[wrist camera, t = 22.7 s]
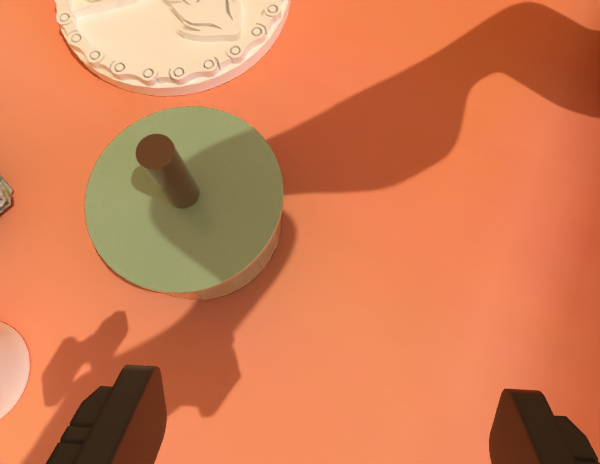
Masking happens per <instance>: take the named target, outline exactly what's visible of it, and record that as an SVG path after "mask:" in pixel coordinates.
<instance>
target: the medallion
mask: <svg viewBox="0 0 600 464" xmlns="http://www.w3.org/2000/svg"><path fill="white" fill-rule="evenodd" d="M54 1H55V2H56V11H57V16H56V20H57V22H58V23H59V25H60V28H61V32H62V33H63V35H64V37H65V39H66V41H67V42H68V44H69V46H70V47H71V49H72V50H73V51H74V53H75V54H76V56H77V57H78V58H79V59H80V60H81V61H82V62H83V64H84V65H85V66H86V67H87V68H88V69H89V70H90V71H92V72H93V73H94V74H96V75H97V76H98V77H100V78H101V79H102V80H104V81H106V82H108V83H110V84H112V85H114V86H116V87H118V88H121V89H124V90H128V91H131V92H135V93H138V94H145V95H153V96H181V95H186V94H192V93H197V92H202V91H205V90H208V89H211V88H214V87H217V86H219V85H222V84H224V83H226V82H228V81H230V80H232V79H234V78H235V77H237V76H239V75H241V74H242V73H244V72H245V71H246V70H248V69H249V68H250V67H252V66H253V65H254V64H256V63H257V62H258V61H259V60H260V59H261V58H262V57H263V56H264V55H265V54H266V53H267V52H268V50H269V49H270V48H271V47H272V45H273V44H274V42H275V41H276V39H277V38H278V36H279V35H280V33H281V31H282V29H283V26H284V24H285V22H286V19H287V17H288V12H289V7H290V2H291V0H54Z"/></svg>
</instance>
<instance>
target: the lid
mask: <svg viewBox="0 0 600 464" xmlns="http://www.w3.org/2000/svg"><path fill="white" fill-rule="evenodd" d="M283 199H284V189H283V179H282V174H281V170H280V166H279V164H278V161H277V159H276V156H275V154H274V153H273V151H272V149H271V147H270V146H269V144H268V143H267V142H266V140H265V139H264V138H263V137H262V136H261V135H260V134H259V133H258V132H257V131H256V130H255V129H254V128H253V127H252V126H250V125H249V124H248V123H246V122H245V121H243V120H241V119H240V118H238V117H236V116H234V115H231V114H229V113H226V112H224V111H220V110H217V109H213V108H206V107H193V106H187V107H177V108H171V109H167V110H163V111H160V112H157V113H154V114H151V115H149V116H147V117H144V118H142V119H140V120H138V121H137V122H135V123H134V124H132V125H130V126H129V127H127V128H126V129H125V130H124V131H122V132H121V133H120V134H119V135H118V136H117V137H116V138H115V139H114V140H113V141H112V142H111V143H110V144H109V145H108V146H107V147H106V149H105V150H104V151H103V153H102V154H101V156H100V157H99V159H98V160H97V162H96V164H95V166H94V168H93V170H92V173H91V175H90V178H89V181H88V185H87V190H86V195H85V218H86V225H87V229H88V232H89V235H90V238H91V240H92V243H93V245H94V247H95V248H96V250H97V252H98V253H99V255H100V256H101V258H102V259H103V260H104V261H105V262H106V264H107V265H108V266H109V267H110V268H112V269H113V270H114V271H115V272H116V273H117V274H119V275H120V276H122V277H123V278H125V279H126V280H128V281H129V282H131V283H134V284H136V285H138V286H140V287H142V288H145V289H149V290H152V291H156V292H162V293H171V294H184V293H194V292H199V291H203V290H207V289H210V288H213V287H216V286H219V285H221V284H223V283H225V282H227V281H229V280H231V279H233V278H234V277H236V276H237V275H239V274H240V273H242V272H243V271H245V270H246V269H247V268H248V267H249V266H250V265H251V264H253V263H254V262H255V261H256V260H257V258H258V257H259V256H260V255H261V254H262V253H263V252H264V250H265V249H266V247H267V246H268V244H269V243H270V241H271V239H272V237H273V235H274V233H275V231H276V229H277V227H278V224H279V221H280V218H281V213H282V208H283Z"/></svg>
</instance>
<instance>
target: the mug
mask: <svg viewBox="0 0 600 464" xmlns="http://www.w3.org/2000/svg"><path fill="white" fill-rule="evenodd" d="M29 372H30V357H29V352H28V348H27V346H26V343H25V342H24V340H23V338H22V337H21V335H20V334H19V333H18V332H17V331H16V330H15V329H14V328H12V327H11V326H9V325H7V324H5V323H3V322H0V418H2V417H3V416H4V415H6V414H7V413H8V412H9V411H10V410H11V409H12V408H13V407H14V405H15V404H16V403H17V401H18V400H19V398H20V397H21V395H22V393H23V391H24V389H25V387H26V384H27V381H28V377H29Z"/></svg>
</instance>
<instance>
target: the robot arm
mask: <svg viewBox="0 0 600 464" xmlns="http://www.w3.org/2000/svg"><path fill="white" fill-rule="evenodd" d="M166 420H167V413H166V405H165V398H164V391H163V384H162V377H161V371H160V368H159V367H157V366H141V365H126V366H124V368H123V369H122V371H121V372H120V374H119V376H118V378H117V380H116V382H115V384H114V386H113V387H107V386H100V387H99V388H98V389H97V390H95V391H94V392H93V393H92V394H91V395H90V396H89V397H87V398H86V399H85V400H84V401H83V402H82V403H81V405H80V406H79V408H78V410H77V411H76V413H75V415H74V417H73V418H72V420H71V422H70V426H68V427H67V428H66V430H65V432H64V434H63V435H62V437H61V441H60V443H58V444H57V446H56V447H55V449H54V451H53V452H52V454H51V456H50V457H49V459H48V461H47V463H46V464H154V462H155V460H156V457H157V454H158V451H159V449H160V446H161V443H162V440H163V437H164V433H165V428H166ZM489 451H490V458H491V462H492V464H600V463H598V458H597V456H596V454H595V452H594V450H593V448H592V447H591V445H590V443H589V441H588V439H587V437H586V436H585V435H584V434H583V433H582V432H581V431H580V430H579V429H578V428H577V427H576V426H575V425H574V424H573V423H572V422H571V421H570V420H569V419H568V418H567V417H566V416H554V415H553V413H552V411H551V409H550V407H549V405H548V403H547V401H546V398H545V397H544V395H543V394H542V393H541V392H540V391H536V390H520V389H504V390H503V392H502V394H501V397H500V400H499V404H498V407H497V411H496V415H495V418H494V422H493V425H492V429H491V432H490V438H489Z"/></svg>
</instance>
